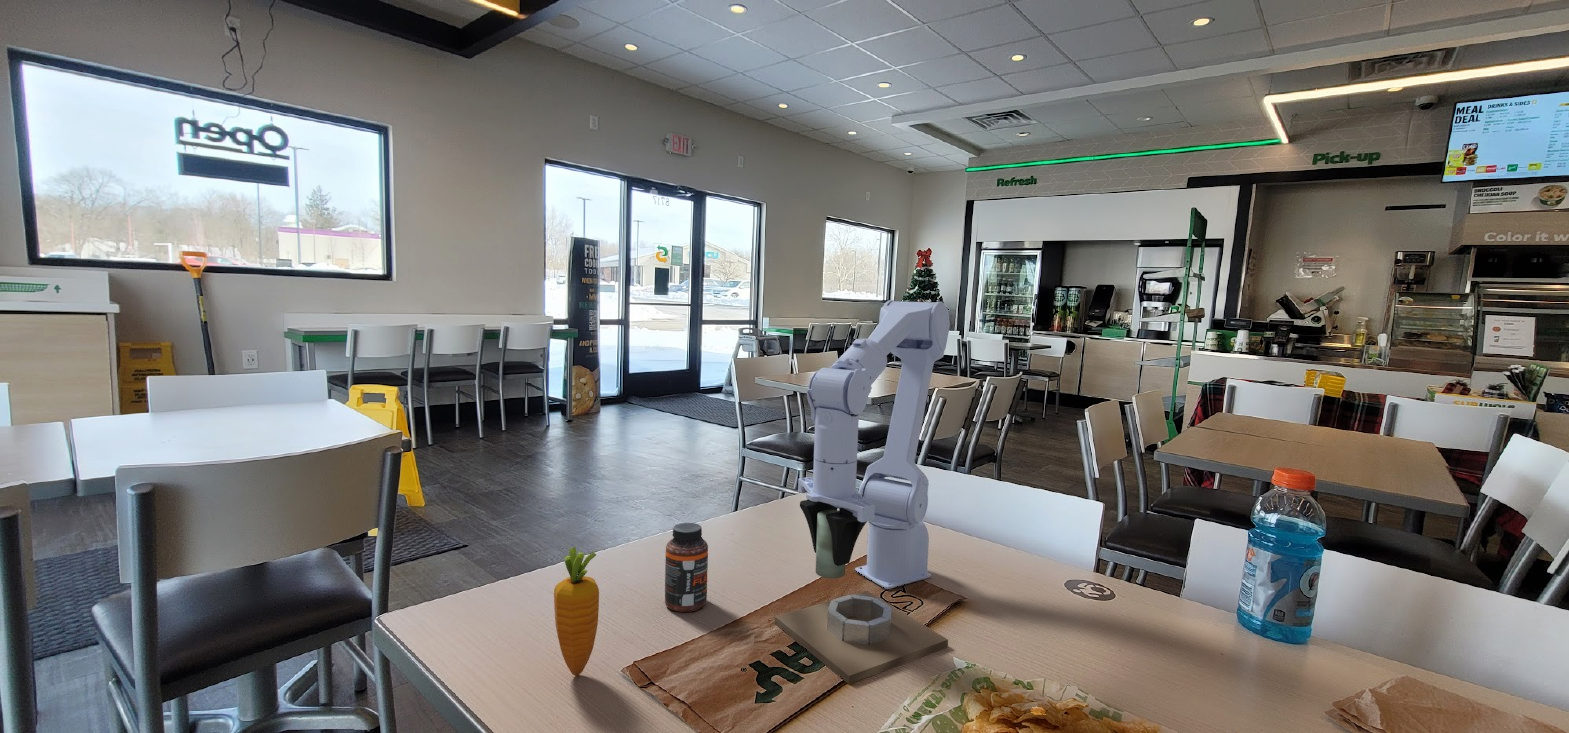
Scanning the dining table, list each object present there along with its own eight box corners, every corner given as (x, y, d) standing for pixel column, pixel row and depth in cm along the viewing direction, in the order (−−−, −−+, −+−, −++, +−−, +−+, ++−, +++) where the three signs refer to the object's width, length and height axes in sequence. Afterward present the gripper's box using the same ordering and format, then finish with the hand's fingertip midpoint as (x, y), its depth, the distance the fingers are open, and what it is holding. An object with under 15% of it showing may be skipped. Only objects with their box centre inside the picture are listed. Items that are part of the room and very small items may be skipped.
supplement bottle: (699, 616, 89) (700, 536, 88) (658, 611, 90) (658, 532, 89) (712, 597, 95) (713, 521, 94) (673, 592, 96) (674, 518, 95)
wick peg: (833, 564, 91) (835, 508, 90) (851, 574, 87) (853, 516, 86) (809, 569, 88) (811, 512, 88) (826, 580, 85) (828, 521, 84)
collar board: (866, 596, 96) (866, 590, 96) (947, 647, 83) (948, 639, 83) (774, 623, 88) (774, 616, 87) (848, 684, 74) (849, 676, 74)
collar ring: (863, 608, 91) (863, 590, 90) (903, 633, 84) (903, 615, 84) (816, 622, 86) (817, 604, 86) (854, 650, 80) (855, 630, 79)
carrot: (560, 664, 77) (559, 540, 75) (603, 663, 77) (603, 540, 75) (548, 689, 72) (547, 558, 70) (594, 688, 72) (594, 557, 71)
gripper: (780, 450, 90) (778, 544, 92) (844, 475, 78) (840, 584, 79) (822, 445, 94) (819, 536, 95) (889, 469, 82) (884, 573, 83)
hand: (831, 557), depth 88 cm, fingers closed on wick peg, 4 cm apart
